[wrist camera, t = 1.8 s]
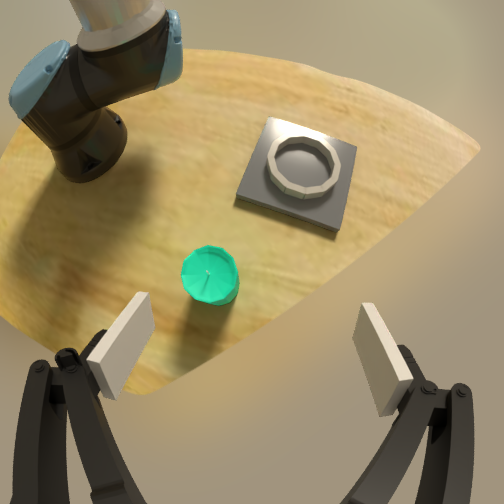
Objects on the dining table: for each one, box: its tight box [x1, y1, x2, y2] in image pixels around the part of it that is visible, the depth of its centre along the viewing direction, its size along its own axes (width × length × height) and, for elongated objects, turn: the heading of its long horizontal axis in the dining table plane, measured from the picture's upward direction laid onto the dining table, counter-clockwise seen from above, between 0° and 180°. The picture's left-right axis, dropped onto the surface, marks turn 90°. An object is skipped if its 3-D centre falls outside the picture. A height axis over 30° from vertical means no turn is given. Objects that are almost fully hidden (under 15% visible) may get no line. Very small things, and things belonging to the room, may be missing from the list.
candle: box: [181, 245, 240, 306], centre depth 33 cm, size 6×6×12 cm
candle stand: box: [236, 117, 357, 232], centre depth 41 cm, size 16×16×4 cm
